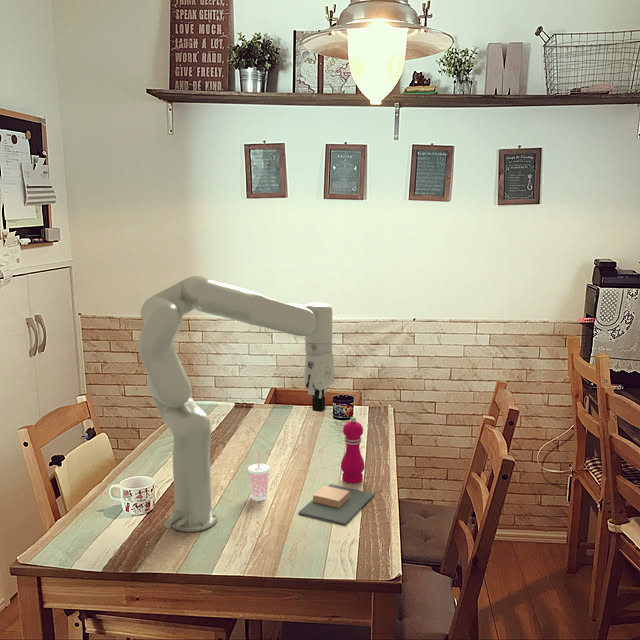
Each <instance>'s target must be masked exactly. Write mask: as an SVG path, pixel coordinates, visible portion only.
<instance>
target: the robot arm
mask: <svg viewBox="0 0 640 640" xmlns="http://www.w3.org/2000/svg"><path fill="white" fill-rule="evenodd" d="M194 310H196V311H198V312H201V313H203V314H208V315H213V316H216V317H221V318H224V319H229V320H232V321H237V322H241V323H244V324H248V325H252V326H257V327H261V328H266V329H270V330H273V331H277V332H281V333H284V334H287V335H288V334H290V335H293V336H298V337H304V339H305V342H304V344H305V345H304V350H305V351H304V353H305V362H304V364H305V365H304V387H305V389H307V390H308V391H307V394H308V395H309V396H311V399H312V403H311V404H312V407H311V408H312V411H313V412H319V413H323V412H324V411H325V410H326V395H327V388H328V387H330V386H332V385H333V383H334V382H335V367H334V366H335V365H334V355H333V307H332V305H330V304H329V303H325V302H312V303H309V304H300V303H286V302H283V301H279V300H277V299H273V298H271V297H269V296H266V295H263V294H261V293H259V292H257V291H256V292H255V291H252V290H249V289H245V288H242V287H238V286H235V285H231V284H227V283H223V282H220V281H217V280H213V279H209V278H207V277H205V276H204V277H203V276H201V275H193V276H189V277H187V278H185V279H183V280H180V281H178V282H177V283H175V284H173V285H171V286H169V287H168V288H167V287H166V288H165V289H163V290H161V291H160V292H158V293H156V294H153V295H152V296H150V297H149V298H148V299H146V300H145V301H144V302H143V304H142V306H141V308H140V317H141V320H142V322H143V324H144V325H143V327H142V328H141V331H140V334H139V338H138V354H139V357H140V360H141V362H142V364H143V368H144V369H145V371H146V374H147V378H146V385H147V389H148V391H149V394H150V396H151V398H152V401H154V404H155V406H156V408H157V411H158V412H159V414H160V417H161V419H162V420H163V423H164V424H165V425H166V427H167V428H168V429H169V430H170V433H172V436H173V446H172V473H173V474H172V476H173V494H174V495H173V498H174V502H173V503H174V509H173V510H172V514H171V515H170V516H169V518H168V519H166V520H165V521H163V526H164V527H165V528H166V529H170V528H172V527H173V529H174V530H177V531H179V530H180V531H179V532H184V531H185V532H187V533H190V532H191V533H193V532H194V533H195V532H201V531H204V530H206V529H208V528H209V529H210V528H211V527H212V526H214V525H215V524H216V523H217V521H218V513H217V511H216V510H215V509H213V508H212V488H211V487H212V486H211V485H212V484H211V482H212V481H211V480H212V479H211V462H210V460H211V458H210V456H211V455H210V454H211V453H210V451H211V450H210V449H211V440H212V439H211V437H212V424H211V420H210V417H209V416H208V414H207V413H206V412H205V411H204V409H202V408H201V407H200V406H199V405H198V404H197V403H196V402H195V400H194V398H193V396H192V389H193V388H192V383H191V380H190V379H189V377H188V375H187V372H186V371H185V369H184V367H183V365H182V362H181V360H180V358H179V356H178V353H177V351H176V348H175V339H176V336H177V335H178V334H179V333H178V332H179V331H180V329H181V328H182V326H183V322H184V316H185V315H187V314H189V313H190V312H191V311H194Z"/></svg>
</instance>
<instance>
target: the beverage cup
mask: <svg viewBox="0 0 640 640" xmlns="http://www.w3.org/2000/svg"><path fill="white" fill-rule="evenodd" d="M247 469H248V470H247V472H248V475H249V486H250V499H251V500H253V501H257V502H259V501H264V500H267V499H268V492H269V489H268V488H269V472H270V465H269V464H267V463H260V450H257V463H254V464H251V465H249V466H248V467H247Z"/></svg>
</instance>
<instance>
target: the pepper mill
mask: <svg viewBox="0 0 640 640" xmlns="http://www.w3.org/2000/svg"><path fill="white" fill-rule="evenodd" d="M342 432H343V435H344V436H345V437H344V442H345V445H346V447H345V448H346V449H345V453H344V455H343V457H342V458H341V462H340V469H341V471H342V474H341V476H342V477H341V479H342V481H343V482H344V483H346V484H349V483H352V484H351V485H355V484H356V483H357V484H360V483H362V482H363V480H364V474H363V472H364V470H365V461H364V459H363V456H362V454H361V453H362V452H361V449H360V448H361V447H360V446H361V445H360V444H361V443H362V437H361V436H362V435H363V434H364V428H363V426H362V424H361V423H360V422H358V421H357V418H356V417H355V416H351V417H350V421H348V422H346V423H345V424H344V426H343V428H342Z"/></svg>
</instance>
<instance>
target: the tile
mask: <svg viewBox="0 0 640 640" xmlns="http://www.w3.org/2000/svg"><path fill="white" fill-rule="evenodd" d="M349 498H350V491H347V490H342V489H338V488H333V487H329V485H324V486H322V487H321V488H320V489H319V490H317V491H316V492H315V493H314V494H312V500H313V502H316V503H321V504H325V505H329V506H333V507H338V508H339V507H340V506H341V505H342V504H343V503H344V502H346V501H347V500H348V499H349Z"/></svg>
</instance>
